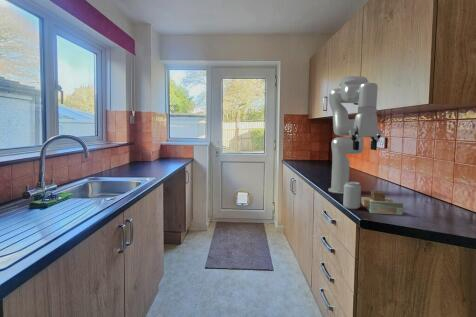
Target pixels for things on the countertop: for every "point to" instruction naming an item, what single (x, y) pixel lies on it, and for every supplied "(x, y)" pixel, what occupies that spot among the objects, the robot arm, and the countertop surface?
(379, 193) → the block
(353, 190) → the can
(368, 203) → the deck
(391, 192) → the countertop surface
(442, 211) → the countertop surface
